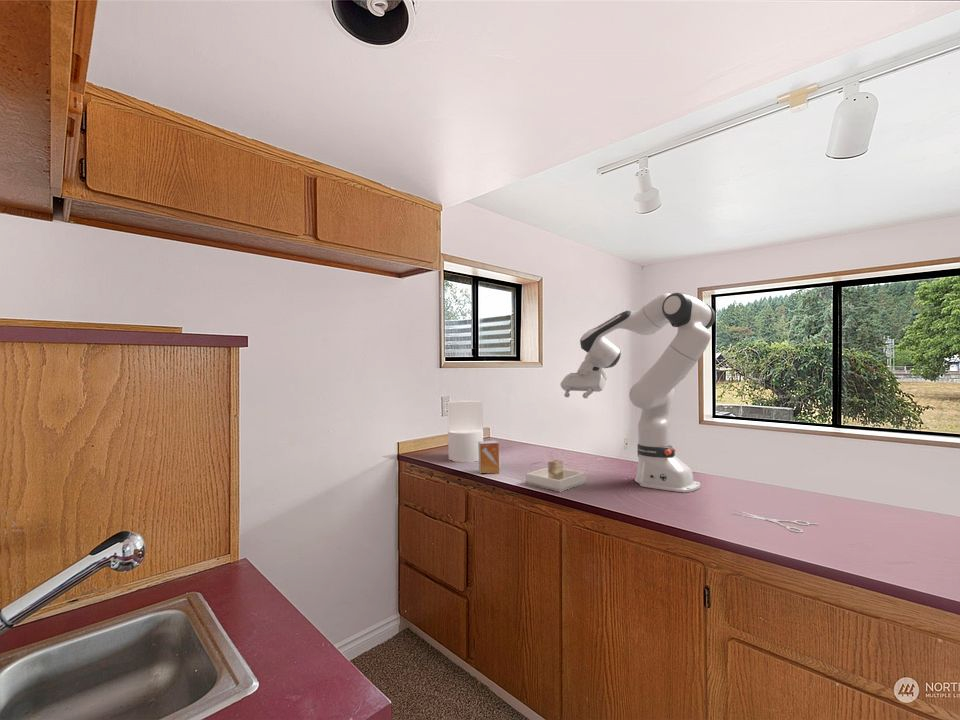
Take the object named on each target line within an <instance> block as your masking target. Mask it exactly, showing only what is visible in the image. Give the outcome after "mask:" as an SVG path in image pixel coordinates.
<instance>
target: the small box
mask: <svg viewBox="0 0 960 720" xmlns="http://www.w3.org/2000/svg"><path fill="white" fill-rule="evenodd" d="M499 445H500V444H499V442H498V441H497V440H483V441H478V452H479V461H478V471H480V472H479V474H481V473H494V474H500V446H499Z"/></svg>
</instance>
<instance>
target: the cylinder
mask: <svg viewBox="0 0 960 720" xmlns="http://www.w3.org/2000/svg"><path fill="white" fill-rule="evenodd" d="M446 404H447V437H448V439H447V442H448V443H447V444H448V445H447V446H448V447H447V448H448V449H447V450H448V460H449V459H450V460H453V461H461V462H468V463H471V462H470V461H477V462H479V461H478V460H479V452H478V441H484V419H483V418H484V417H483V416H484V414H483V413H484V411H483V410H484V409H483V401H482V400H476V399H475V400H470V399H468V400H466V399H465V400H451V401H450V400H449V401H448V402H447V403H446ZM450 460H449V461H450Z"/></svg>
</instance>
